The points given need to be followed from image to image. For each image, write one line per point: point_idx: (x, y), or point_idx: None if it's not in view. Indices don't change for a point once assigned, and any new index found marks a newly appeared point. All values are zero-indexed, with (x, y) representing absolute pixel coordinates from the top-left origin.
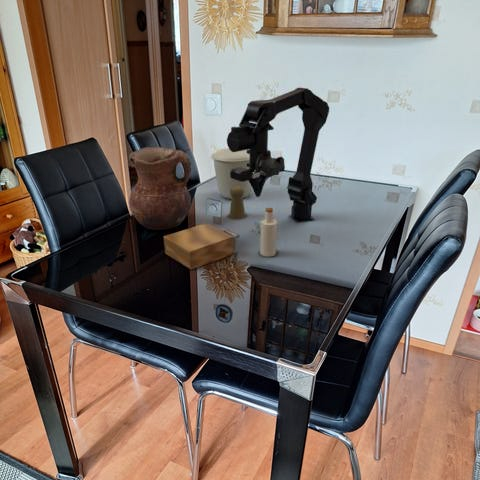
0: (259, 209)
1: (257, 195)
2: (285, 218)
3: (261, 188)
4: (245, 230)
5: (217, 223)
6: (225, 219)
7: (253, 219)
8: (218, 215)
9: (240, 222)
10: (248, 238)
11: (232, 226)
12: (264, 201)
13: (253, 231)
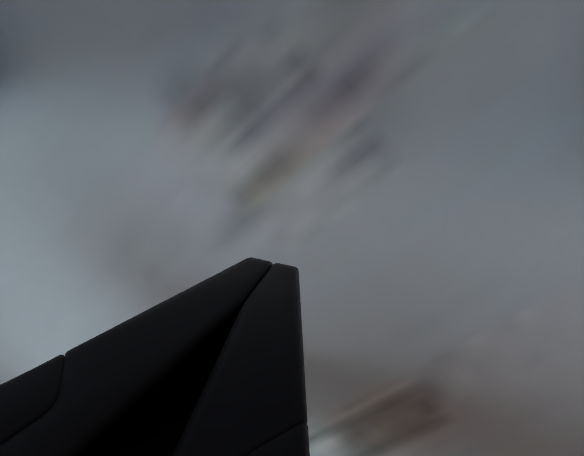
0: (82, 325)
1: (297, 293)
2: (20, 116)
3: (149, 344)
4: (393, 203)
5: (425, 407)
6: (338, 399)
7: (205, 272)
8: (322, 451)
9: (305, 309)
10: (526, 73)
11: (398, 314)
12: (2, 358)
13: (365, 142)
